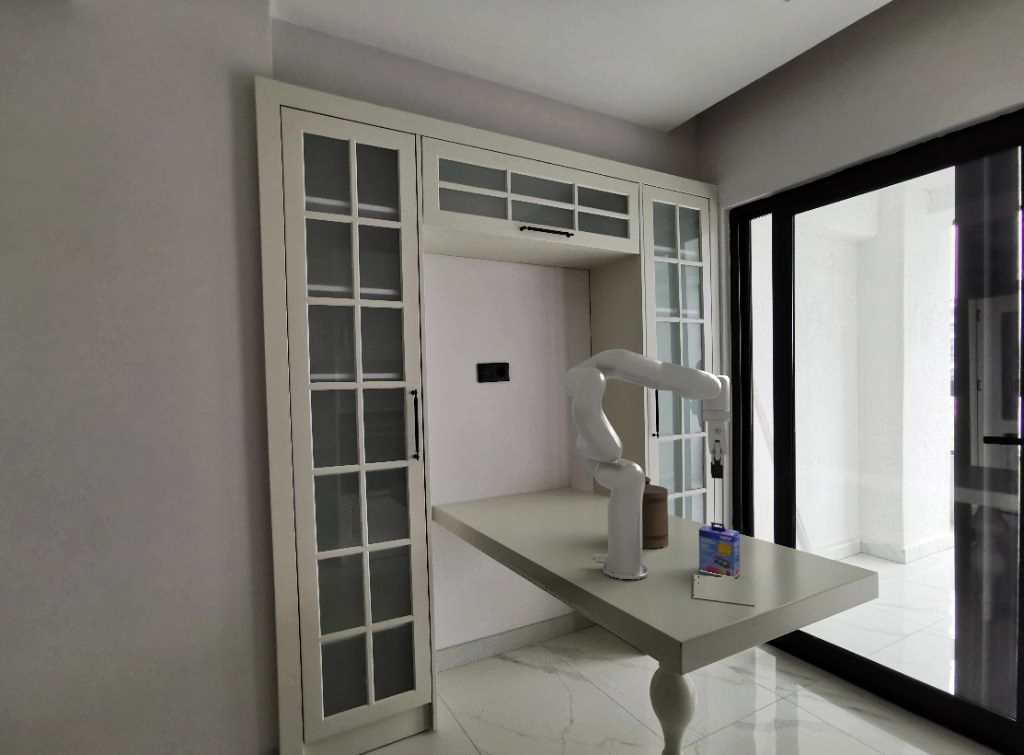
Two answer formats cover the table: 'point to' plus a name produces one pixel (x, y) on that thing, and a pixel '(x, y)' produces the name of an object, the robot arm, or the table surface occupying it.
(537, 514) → the table surface
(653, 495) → the wooden container
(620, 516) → the robot arm
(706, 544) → the ink cartridge box
